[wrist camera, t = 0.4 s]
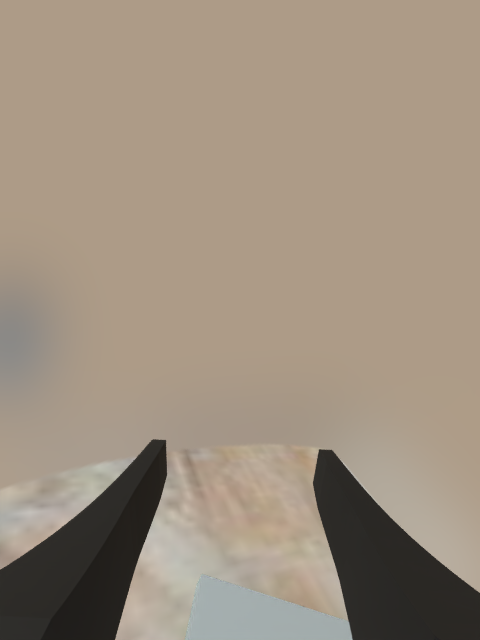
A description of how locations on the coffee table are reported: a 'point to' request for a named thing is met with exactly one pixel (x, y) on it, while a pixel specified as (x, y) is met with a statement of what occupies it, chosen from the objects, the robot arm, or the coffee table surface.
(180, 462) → the coffee table surface
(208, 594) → the board
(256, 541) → the coffee table surface
